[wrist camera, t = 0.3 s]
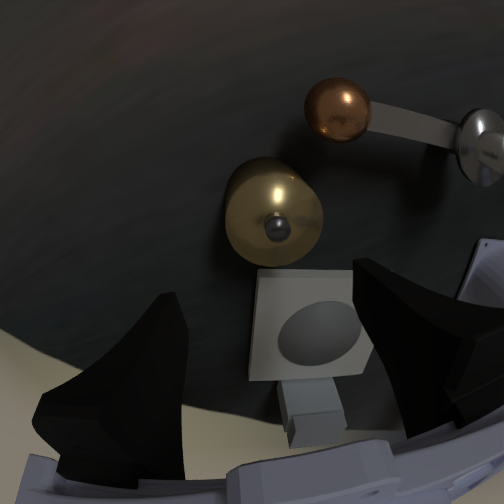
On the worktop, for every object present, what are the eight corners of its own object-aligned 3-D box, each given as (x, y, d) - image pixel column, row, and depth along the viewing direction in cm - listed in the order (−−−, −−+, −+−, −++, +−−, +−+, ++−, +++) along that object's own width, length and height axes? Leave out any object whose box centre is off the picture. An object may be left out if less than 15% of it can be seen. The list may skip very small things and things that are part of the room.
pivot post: (469, 111, 18) (535, 127, 12) (460, 171, 20) (521, 201, 14) (422, 94, 17) (489, 102, 11) (412, 160, 20) (475, 190, 13)
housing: (306, 160, 19) (336, 184, 14) (297, 231, 22) (319, 276, 16) (227, 154, 19) (227, 177, 14) (224, 228, 21) (223, 275, 16)
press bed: (392, 270, 24) (434, 324, 18) (349, 384, 30) (369, 437, 24) (257, 268, 23) (269, 334, 17) (246, 391, 29) (251, 450, 23)
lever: (443, 108, 16) (477, 114, 13) (436, 158, 18) (468, 172, 15) (300, 74, 15) (317, 69, 12) (294, 135, 17) (310, 143, 14)
